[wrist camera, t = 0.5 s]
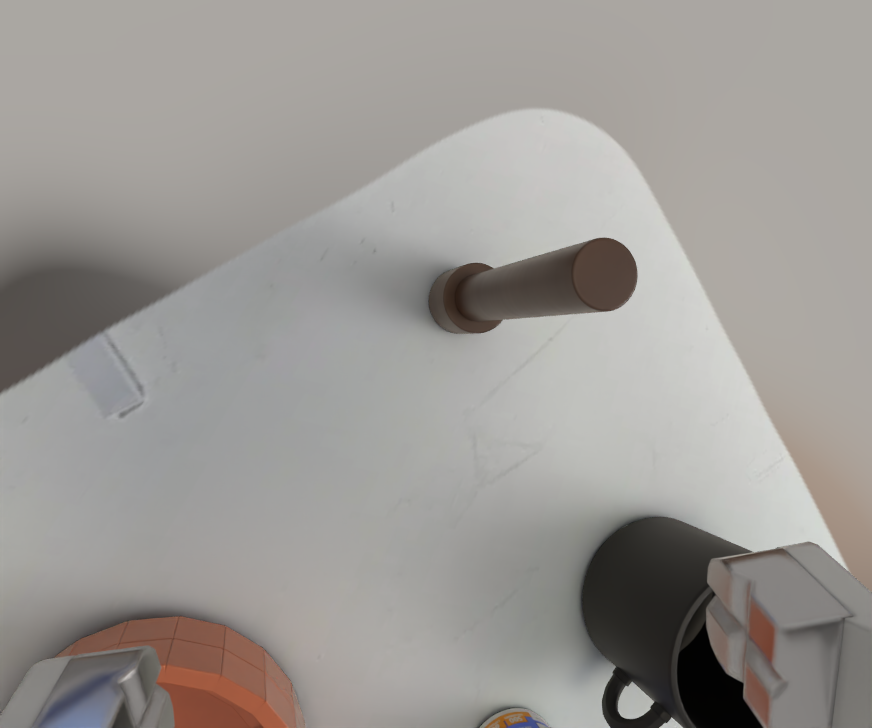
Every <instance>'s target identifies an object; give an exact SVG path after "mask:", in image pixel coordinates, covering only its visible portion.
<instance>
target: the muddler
mask: <svg viewBox="0 0 872 728" xmlns="http://www.w3.org/2000/svg"><path fill="white" fill-rule="evenodd" d="M636 283H637V267H636V263H635V260H634V258H633V256H632V254H631V253H630V251H629V250H628V249H627V248H626V247H625V246H624V245H623V244H621V243H620V242H618V241H616V240H614V239H610V238H597V239H593V240H590V241H586V242H583V243H579V244H576V245H573V246H569V247H566V248H562V249H559V250H556V251H552V252H549V253H545V254H542V255H539V256H535V257H532V258H528V259H525V260H522V261H518V262H515V263H511V264H508V265H505V266H501V267H498V268H492V267H490V266H488V265H486V264H482V263H470V264H466V265H463V266H460V267H458V268H455V269H452V270H449V271H447V272H445V273H443V274H442V275H440V276H439V277H438V278H437V279H436V281H435V282H434V284H433V285H432V287H431V290H430V294H429V308H430V312H431V314H432V316H433V318H434V320H435V321H436V322H437V324H438V325H439V326H441V327H442V328H443V329H445V330H447V331H449V332H452V333H456V334H473V333H484V332H487V331H490V330H492V329H494V328H495V327H496V326H498V325H499V324H500V323H501V321H502V320H505V319H517V318H530V317H543V316H555V315H568V314H580V313H593V312H606V311H612V310H615V309H618V308H619V307H621V306H622V305H624V304H625V303H626V302H627V301H628V300H629V298H630V297H631V296H632V294H633V292H634V290H635V287H636Z"/></svg>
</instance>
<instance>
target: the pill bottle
mask: <svg viewBox="0 0 872 728" xmlns="http://www.w3.org/2000/svg"><path fill="white" fill-rule="evenodd" d="M480 728H551V727H550V726H549V725H548V724H547V723H546V721H545V720H544V719H543V718H542V717H540V716H539V715H538V714H536V713H534V712H532V711H530V710H527V709H521V708H513V709H507V710H504V711H501V712H499V713H497V714H495V715H493V716H492V717H490V718H489V719H488V720H486V721H485V722H484V723H483V724H482V725H481V726H480Z"/></svg>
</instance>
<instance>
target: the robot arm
mask: <svg viewBox="0 0 872 728" xmlns="http://www.w3.org/2000/svg"><path fill="white" fill-rule="evenodd" d="M707 583H708V584H709V586H710V587H711V588H712V590H713V591H714V592H715V594H716V595H715V596H714V598H713V599H712V600H711V602H710V603H709V604H708V606H707V607H706V627H707V632H708V636H709V640H710V644H711V647H712V649H713V651H714V654H715V656H716V658H717V660H718V662H719V663H720V665H721V666H722V668H723V669H724V671H725V672H726V674H728V675H730V676H732V677H733V678H735V679H737V680H739V681H741V682H742V683H744V690H743V699H744V700H745V702H746V703H747V705H748V706H749V708H750V709H751V710H752V712H753V713H754V715H755V716H756V718H757V719H758V721H759V722H760V723H761V725H762V726H763V728H872V592H871V591H869V590H868V589H867V588H866V587H865V586H864V585H863V584H861V583H860V582H859V581H858V580H857V579H856V578H855V577H854V576H853V575H851V574H850V573H849V572H848V571H847V570H846V569H845V568H844V567H842V566H841V565H840V564H839V563H838V562H837V561H836V560H834V559H833V558H832V557H831V556H830V555H829V554H828V553H827V552H825V551H824V550H823V549H822V548H821V547H820V546H818V545H817V544H814V543H811V542H805V543H799V544H794V545H788V546H783V547H777V548H776V549H771V550H765V551H759V552H752V553H746V554H740V555H734V556H727V557H721V558H715V559H711V561H710V564H709V566H708V574H707ZM160 670H161V665H160V662H159V659H158V656H157V653H156V650H155V649H154V648H152V647H150V646H148V645H147V646H139V647H132V648H124V649H116V650H109V651H101V652H93V653H86V654H78V655H77V656H66V657H59V658H52V659H45V660H41V661H39V662H38V663H36V664H34V665H33V666H32V667H31V668H30V669H29V671H28V672H27V674H26V676H25V677H24V679H23V680H22V682H21V683H20V685H19V687H18V688H17V690H16V691H15V693H14V694H13V696H12V698H11V699H10V701H9V702H8V704H7V705H6V707H5V709H4V710H3V712H2V713H1V715H0V728H174V726H175V722H174V713H173V705H172V702H171V698H170V695H169V692H167V691H166V690H164V689H163V688H162V687H160V686H159V685H158V684H156V681H157V678H158V676H159V673H160Z"/></svg>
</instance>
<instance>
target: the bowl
mask: <svg viewBox="0 0 872 728" xmlns="http://www.w3.org/2000/svg"><path fill="white" fill-rule="evenodd" d="M147 645H148V646H150V647H152V648H154V649H155V650H156V653H157V656H158V659H159V662H160V665H161V670H160V673H159V676H158V678H157V681H156V684H158V685H159V686H160V687H162V688H163V689H164V690H166V691H167V692H169V695H170V698H171V702H172V705H173V713H174V722H175V726H174V728H306V727H305V721H304V718H303V715H302V712H301V709H300V706H299V703H298V700H297V697H296V694H295V691H294V689H293V686H292V683H291V682H290V680H289V678H288V677H287V676H286V675H285V674H284V672H283V671H282V670H281V669H280V667H279V666H278V665H277V664H276V663H275V661H274V660H273V659H272V658H271V656H270V655H269V654H268V653H267V652H266V650H264V649H263V648H262V647H261V646H259V645H257V644H255V643H254V642H252V641H250V640H249V639H247V638H245V637H244V636H242V635H240V634H239V633H237V632H235V631H234V630H232V629H230V628H228V627H225V625H220V624H215V623H211V622H206V621H201V620H197V619H192V618H187V617H182V616H179V617H178V616H174V617H163V618H152V619H140V620H130V621H129V622H128V621H126V622H123V623H121V624H118V625H115V626H113V627H110V628H107V629H105V630H102V631H100V632H97V633H94V634H92V635H89V636H87V637H84V638H81V639H80V640H77V641H76V642H74V643H73V644H72V645H70V646H69V647H67V648H66V649H65V650H63V651H62V652H61V653H59V654H58V655H57V656H55V657H54V658H59V657H66V656H77V655H78V654H86V653H93V652H101V651H109V650H116V649H124V648H132V647H139V646H147Z"/></svg>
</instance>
